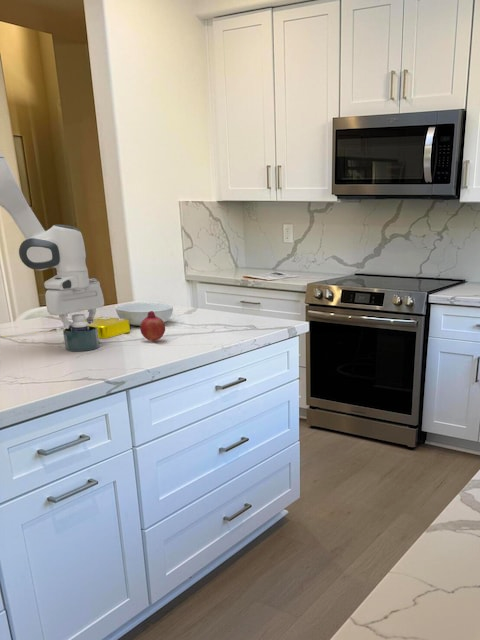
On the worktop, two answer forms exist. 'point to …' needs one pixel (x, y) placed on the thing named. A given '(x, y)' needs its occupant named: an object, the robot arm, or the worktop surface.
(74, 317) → the pill bottle
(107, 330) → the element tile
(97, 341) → the dark teal round container
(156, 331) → the fruit
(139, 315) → the serving bowl
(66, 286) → the robot arm
